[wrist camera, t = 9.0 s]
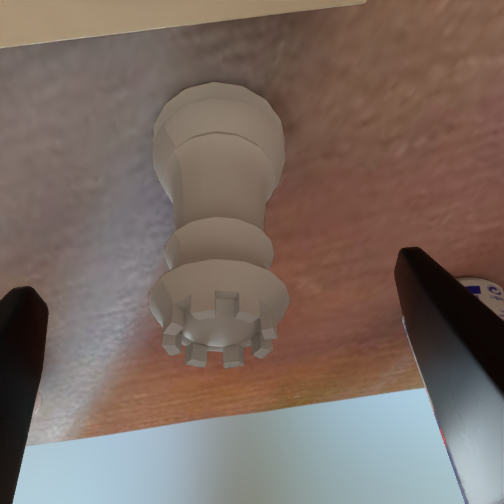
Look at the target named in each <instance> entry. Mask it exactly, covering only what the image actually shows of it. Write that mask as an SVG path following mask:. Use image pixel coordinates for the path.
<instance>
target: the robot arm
mask: <svg viewBox="0 0 504 504" xmlns="http://www.w3.org/2000/svg"><path fill="white" fill-rule="evenodd" d="M394 276H395V282H396V286H397V291H398V295H399V299H400V304H401V308H402V313H403V317H404V321H405V326H406V330H407V334H408V337H409V340H410V343H411V346H412V349H413V351H414V354H415V357H416V360H417V363H418V365H419V368H420V371H421V374H422V376H423V379H424V382H425V385H426V388H427V390H428V393H429V396H430V399H431V401H432V404H433V407H434V410H435V413H436V415H437V418H438V421H439V424H440V426H441V429H442V432H443V435H444V438H445V440H446V443H447V446H448V449H449V451H450V454H451V457H452V460H453V463H454V465H455V468H456V471H457V474H458V476H459V479H460V482H461V485H462V488H463V490H464V493H465V496H466V499H467V501H468V504H504V320H502V319H501V318H500V317H499V316H498V315H497V314H496V313H494V312H493V311H492V310H491V309H490V308H489V307H488V306H486V305H485V304H484V303H483V302H482V301H481V300H479V299H478V298H477V297H476V296H475V295H474V294H473V293H471V292H470V291H469V290H468V289H467V288H466V287H465V286H463V285H462V284H461V283H460V282H459V281H458V280H456V279H455V278H454V277H453V276H452V275H451V274H450V273H448V272H447V271H446V270H445V269H444V268H443V267H442V266H440V265H439V264H438V263H437V262H436V261H435V260H434V259H432V258H431V257H430V256H429V255H428V254H427V253H425V252H424V251H423V250H422V249H421V248H419V247H406V248H402V249H401V250H400V251H399V254H398V258H397V262H396V266H395V270H394ZM48 315H49V311H48V307H47V304H46V303H45V302H44V300H43V299H42V298H41V297H40V295H39V294H38V293H37V292H36V291H35V289H34V288H32V287H30V286H26V287H16V288H13V289H12V290H10V291H9V292H8V293H7V294H6V295H5V296H4V297H3V298H2V299H1V300H0V504H12V503H13V499H14V494H15V490H16V486H17V481H18V477H19V472H20V467H21V463H22V458H23V454H24V449H25V446H26V441H27V437H28V432H29V428H30V423H31V419H32V414H33V410H34V406H35V401H36V397H37V392H38V388H39V383H40V379H41V374H42V369H43V362H44V353H45V343H46V334H47V324H48Z"/></svg>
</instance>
